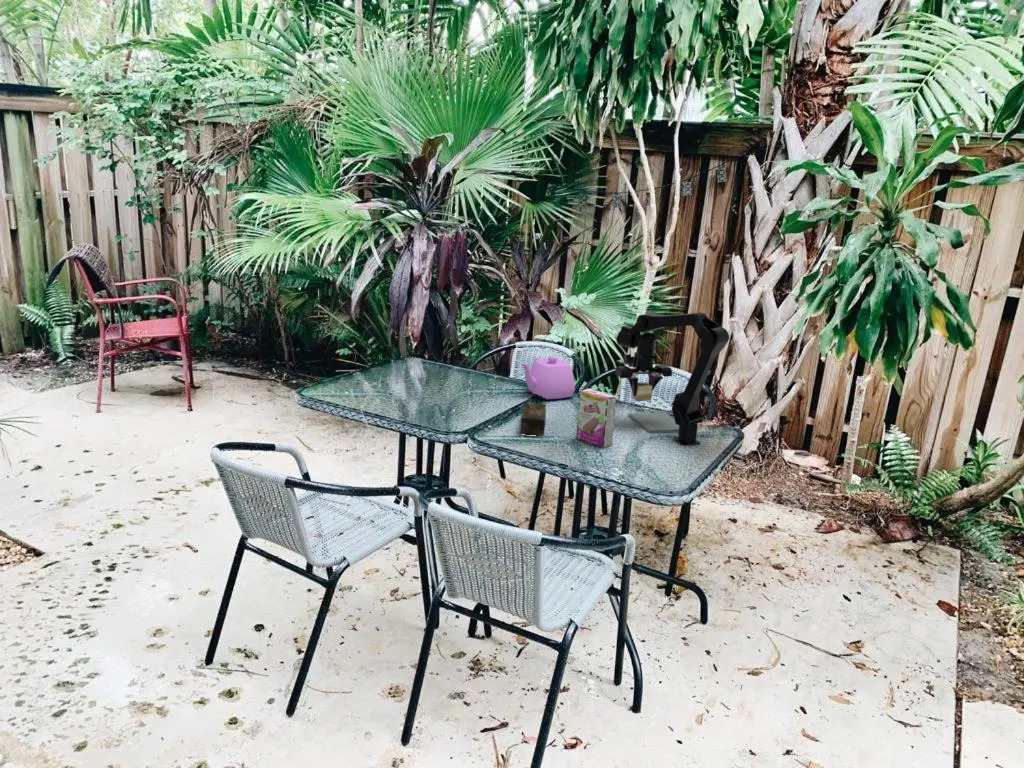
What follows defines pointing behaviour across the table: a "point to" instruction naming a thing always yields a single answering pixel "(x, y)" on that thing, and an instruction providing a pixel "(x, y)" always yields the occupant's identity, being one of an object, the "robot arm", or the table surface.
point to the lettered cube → (643, 392)
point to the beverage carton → (533, 419)
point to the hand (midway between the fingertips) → (641, 395)
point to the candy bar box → (596, 417)
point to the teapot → (550, 378)
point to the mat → (655, 422)
